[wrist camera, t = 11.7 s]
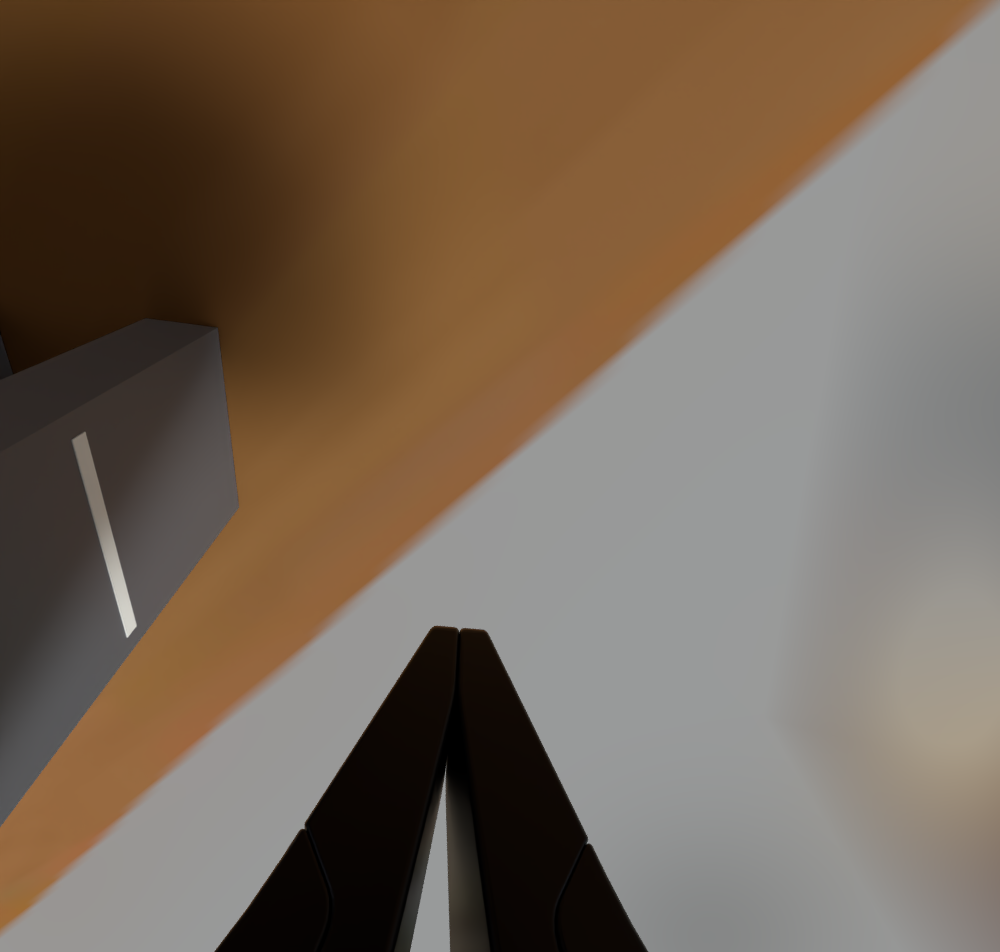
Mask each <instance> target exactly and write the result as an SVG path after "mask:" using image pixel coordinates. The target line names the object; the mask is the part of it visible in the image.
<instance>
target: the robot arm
mask: <svg viewBox="0 0 1000 952" xmlns="http://www.w3.org/2000/svg"><path fill="white" fill-rule="evenodd" d="M445 769H446V822H447V823H446V825H447V855H448V856H447V858H448V891H449V892H448V893H449V927H450V952H648V951H647V949H646V947H645V945H644V944H643V942H642V940H641V939H640V937H639V935H638V933H637V932H636V930H635V928H634V927H633V925H632V923H631V921H630V919H629V917H628V915H627V913H626V912H625V910H624V908H623V906H622V904H621V902H620V900H619V898H618V896H617V894H616V892H615V891H614V889H613V887H612V885H611V883H610V881H609V879H608V877H607V875H606V873H605V871H604V869H603V867H602V865H601V863H600V861H599V859H598V857H597V855H596V853H595V851H594V848H593V846H592V845H591V844H587V842H588V837H587V835H586V833H585V831H584V829H583V827H582V825H581V823H580V821H579V818H578V816H577V814H576V813H575V810H574V808H573V806H572V804H571V802H570V800H569V798H568V796H567V794H566V792H565V790H564V788H563V786H562V784H561V782H560V780H559V778H558V776H557V773H556V771H555V769H554V767H553V766H552V763H551V761H550V759H549V757H548V755H547V753H546V751H545V749H544V747H543V745H542V743H541V741H540V739H539V737H538V735H537V732H536V730H535V728H534V726H533V724H532V722H531V720H530V718H529V716H528V714H527V712H526V710H525V708H524V706H523V704H522V702H521V700H520V698H519V696H518V694H517V692H516V690H515V688H514V685H513V684H512V681H511V679H510V677H509V676H508V673H507V671H506V669H505V667H504V665H503V663H502V661H501V659H500V657H499V655H498V653H497V651H496V649H495V647H494V644H493V642H492V640H491V639H490V636H489V635H488V633H487V632H486V631H485V630H480V629H468V628H463V629H461V630H460V632H459V630H458V629H457V628H455V627H445V626H434V627H432V628H431V629H430V631H429V632H428V634H427V635H426V637H425V638H424V640H423V642H422V643H421V645H420V646H419V648H418V649H417V651H416V652H415V654H414V655H413V657H412V658H411V660H410V662H409V663H408V665H407V666H406V668H405V669H404V671H403V672H402V674H401V675H400V677H399V678H398V680H397V682H396V683H395V685H394V687H393V688H392V689H391V691H390V693H389V694H388V695H387V697H386V699H385V700H384V702H383V703H382V705H381V706H380V708H379V709H378V711H377V712H376V714H375V715H374V717H373V719H372V720H371V722H370V723H369V725H368V726H367V728H366V730H365V731H364V732H363V734H362V736H361V737H360V739H359V740H358V742H357V744H356V745H355V746H354V748H353V749H352V751H351V753H350V754H349V756H348V757H347V759H346V760H345V762H344V763H343V765H342V767H341V768H340V769H339V771H338V773H337V774H336V776H335V778H334V779H333V780H332V782H331V783H330V785H329V787H328V788H327V790H326V791H325V793H324V794H323V796H322V797H321V799H320V800H319V802H318V803H317V805H316V807H315V808H314V810H313V811H312V813H311V814H310V816H309V818H308V819H307V820H306V822H305V829H301V830H300V831H299V832H298V834H297V835H296V837H295V839H294V840H293V842H292V843H291V845H290V846H289V848H288V849H287V851H286V852H285V854H284V855H283V857H282V858H281V860H280V861H279V863H278V864H277V866H276V867H275V869H274V870H273V872H272V873H271V875H270V876H269V878H268V879H267V881H266V882H265V883H264V885H263V886H262V888H261V889H260V891H259V892H258V894H257V895H256V896H255V898H254V899H253V901H252V902H251V904H250V905H249V907H248V908H247V909H246V911H245V912H244V913H243V915H242V916H241V917H240V919H239V920H238V921H237V923H236V924H235V925H234V927H233V928H232V929H231V930H230V932H229V933H228V934H227V936H226V937H225V939H224V940H223V941H222V942H221V944H220V945H219V946H218V948H217V949H216V950H215V952H410V949H411V944H412V939H413V934H414V929H415V924H416V919H417V914H418V909H419V904H420V899H421V894H422V889H423V884H424V879H425V874H426V869H427V864H428V858H429V854H430V849H431V844H432V839H433V834H434V829H435V824H436V819H437V814H438V809H439V804H440V799H441V794H442V788H443V782H444V776H445ZM586 844H587V845H586Z"/></svg>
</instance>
